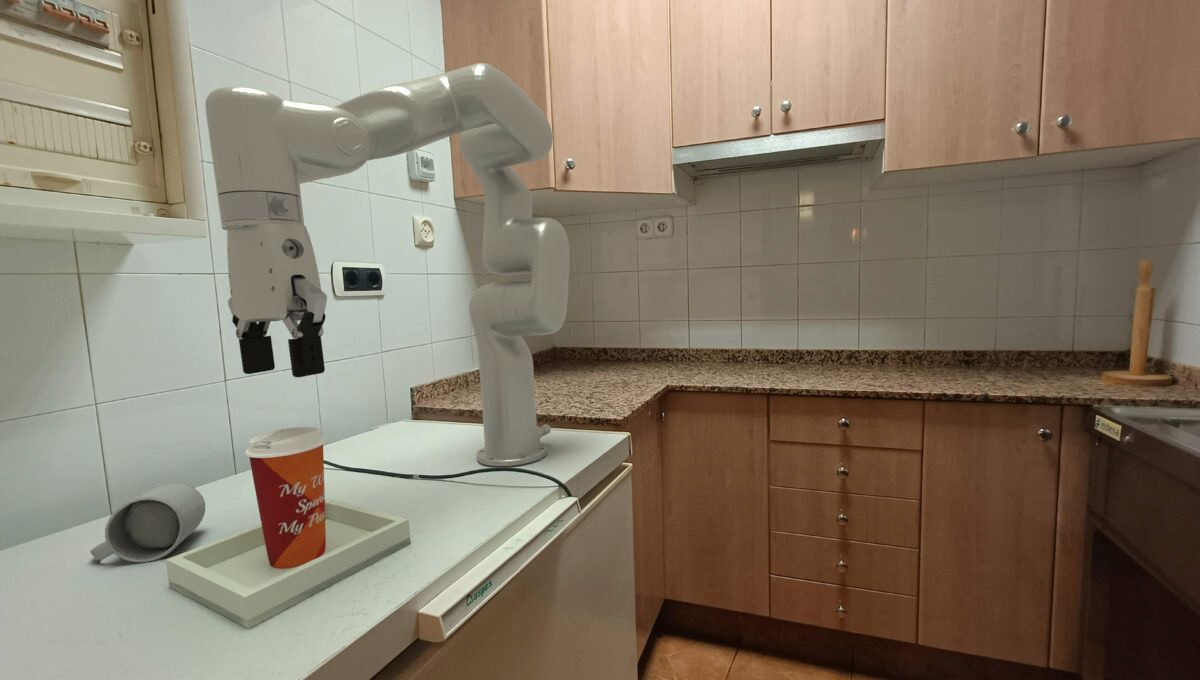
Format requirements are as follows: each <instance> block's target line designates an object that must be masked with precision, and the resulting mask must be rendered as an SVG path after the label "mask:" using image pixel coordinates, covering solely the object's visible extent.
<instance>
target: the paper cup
mask: <svg viewBox="0 0 1200 680" xmlns="http://www.w3.org/2000/svg"><path fill="white" fill-rule="evenodd" d="M326 442H327V439H326V437H325V436H323V434H322V431H321V429H319V428H317V427H315V426H314V427H313V426H298V427H297V426H296V427H288V428H282V429H281V428H280V429H277V430H271V431H267V432H263V433H260V434H258V435H255V436H254V437H252V438H250V439H249V440H248V447H247V449H246V450H245V453H244V455H245V456H246V457H248V458H249V463H250V469H251V475H252V479H253V485H254V490H255V495H256V501H257V506H258V508H257V509H258V514H259V518H260V524H262V530H263V535H264V540H265V546H266V551H267V555H268V560H269V563H270V565H271V566H272V567H274V568H279V569H286V568H293V567H298V566H301V565H303V564H306V563H308V562H310V561H312V560H314V559H316V558H318V557H320V556H321V555H323V553H324V552H325V549H326V524H325V500H326V498H325V497H326V496H325V495H326V493H325V491H326V490H325V462H324V457H325V456H324V444H325V443H326Z"/></svg>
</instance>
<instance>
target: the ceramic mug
mask: <svg viewBox="0 0 1200 680" xmlns="http://www.w3.org/2000/svg"><path fill="white" fill-rule="evenodd" d="M205 513H206V501H205V499H204V497H203V495H202V494H201V492H199V490H198V489H196V488H195V487H193V486H190V485H189V484H185V483H170V484H169V483H168V484H165V485H160V486H157V487H155V488H153V489H150V490H149V491H146V492H145V493H143V494H141V495H138V496H137V497H133V498H132V499H130V500H128V501H126V502H124V503H123V504H122V505H120V506H119V507H118V508H117V509H116V510H115V511H114V512H113V513H112V514H111V515H110V516H109V519H108V521H107V523H106V525H105V528H104V538H105V540H104V541H103V542H101V543H99V544H97V546H95V547H94V548H92V549H91V550H89V551H90V554H91V555H92V557H94V559H95V561H97V562H98V561H101V560H104V559H106V558H108V557H110V556H112V555H115V556H117V557H118V558H119V559H121V560H124V561H127V562H131V563H147V562H148V563H149V562H150V563H151V562H153V561H156V560H160V559H162V558H164V557H166V556H167V555H169V554H170V553H171V552H174V550H175V549H176V548H177V547H178V546H179V545H180V544H181V543H182V542H184V540H186V539H187V538H188V537H189V536H190V535H191V534H192V533H193V532H194V531H195V530H197V528H198V527H199V526H200V524H201V522H202V521H203V519H204V516H205V515H206V514H205Z"/></svg>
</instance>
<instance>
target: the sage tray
mask: <svg viewBox="0 0 1200 680" xmlns="http://www.w3.org/2000/svg"><path fill="white" fill-rule="evenodd" d="M325 524H326V549H325V552H324V553H323V555H321V556H320V557H318V558H316V559H314V560H312V561H310V562H308V563H306V564H303V565H301V566H298V567H293V568H286V569H279V568H274V567H272V566H271V565H270V563H269V560H268V555H267V551H266V546H265V540H264V535H263V530H262V524H261V523H259V524H257V525H254V526H251V527H249V528H246V529H244V530H241V531H239V532H235V533H232V534H231V535H226V536H225V537H222V538H220V539H217V540H214V541H212V542H209V543H205V544H204V545H203V544H202V545H201V546H198V547H195V548H193V549H191V550H188V551H185V552H183V553H180V554H177V555H174V556H171V557H169V558H167V559H165V561H166V569H167V576H168V577H167V578H168V586H169V588H171V589H173V590H174V591H177V592H178V593H180V594H182V595H184V596H186V597H188V598H190V599H191V600H194V601H195V602H197V603H199V604H200V605H203V606H205V607H207V608H208V609H210V610H212V611H214V612H216V613H217V614H219V615H222V616H224V617H225V618H227V619H229V620H231V621H233V622H235V623H236V624H239V625H241V626H242V627H244V628H245V629H247V630H249V629H251V628H254V627H255V626H257V625H259V624H261V623H263V622H265V621H267V620H268V619H270V618H272V617H274V616H275V615H278V614H280V613H282V612H283V611H285V610H287V609H289V608H291V607H293V606H294V605H297V604H298V603H301V602H302V601H304V600H306V599H309V598H310V597H312V596H314V595H315V594H317V593H319V592H321V591H324V590H326V589H328V588H329V587H331V586H333V585H334V584H335V585H336V583H338V582H340V581H342V580H344V579H346V578H348V577H350V576H352V575H353V574H356V573H357V572H359V571H361V570H363V569H366V568H367V567H369V566H370V565H372V564H374V563H376V562H379V561H380V560H382V559H384V558H386V557H388V556H389V555H391V554H394V553H395V552H397V551H399V550H401V549H403V548H406V547H407V546H408V545H410V544H411V543H412V541H411V532H410V520H409V519H408V518H405V517H401V516H398V515H394V514H389V513H386V512H382V511H378V510H375V509H370V508H367V507H362V506H359V505H354V504H351V503H347V502H343V501H338V500H335V499H331V498H325ZM393 552H394V553H393Z"/></svg>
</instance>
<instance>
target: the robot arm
mask: <svg viewBox="0 0 1200 680" xmlns="http://www.w3.org/2000/svg"><path fill="white" fill-rule="evenodd" d="M204 105H205V115H206V123H207V129H208V136H209V138H208V139H209V144H210V153H211V159H212V165H213V166H212V167H213V172H214V173H213V175H214V179H215V188H216V194H217V196H216V197H217V203H218V209H219V217H220V223H221V224H220V225H221V230H223V231H226V232H227V233H226V242H227V243H226V247H227V249H226V252H227V253H226V256H227V269H228V282H229V292H230V298H229V299H228V301H227V305H228V307H229V311H230V313H231V317H232V318H231V319H232V320H231V322H232V324H234V327H235V328H236V329H235V335H236V337H237V339H238V344H239V351H240V359H241V365H242V371H243V374H245V375H252V374H253V375H254V374H257V373H264V372H270V371H273V370H275V368H276V366H275V358H274V357H275V356H274V349H273V343H272V342H273V341H272V335H267V333H268V330H269V327H270V324H271V322H279V321H280V322H281V321H282V323H284V325H285V327H286V328H287V330H288V333H289V334H290V335H291V338H289V339H287V342H288V350H289V358H290V366H291V373H292V374H291V375H292V377H294V378H303V377H308V376H313V375H320V374H323V373H324V372H325V371H326V369H325V367H326V366H325V361H324V360H325V359H324V358H325V357H324V352H323V350H324V349H323V344H322V343H323V342H322V336H323V334H324V327H323V325H324V323H325V321H326V314H325V311H326V308H327V307H326V306H327V303H328V302H327V301H328V296H327V294H326V292H324V291H323V290H322V286H321V282H320V281H321V280H320V275H319V270H318V264H317V261H316V254H315V252H314V247H313V244H312V241H311V236H310V233H309V232H308V229H307V226H306V225H305V219H304V213H303V212H304V210H303V203H302V195H301V186H300V185H301V184H306V183H311V182H314V181H320V180H323V179H330V178H335V177H339V176H343V175H348V174H351V173H353V172H355V171H357V170H359V169H360V168H362V167H363V166H364V165H365V164H366V163H367V161H372V160H378V159H385V158H390V157H391V158H392V157H395V156H398V155H402V154H405V153H410V152H412V151H416V150H418V149H421V148H422V147H426V146H429V145H431V144H433V143H435V142H438V141H440V140H444V139H446V138H449V137H452V136H454V135H457V134H459V138H458V141H459V142H458V143H459V147H460V148H459V149H460V152H461V154H462V157H463V159H464V160H465V162H466V163H467V165H468V166H469V168H470V169H471V171H472V172H473V174H474V175H475V177H476V178H477V181H478V182H479V184H480V186H481V189H482V191H483V196H484V197H483V198H484V215H483V217H484V218H483V232H482V233H483V234H482V253H481V254H482V256H481V257H482V261H483V265H484V267H485V268H486V269H487V272H488V271H489V272H490V273H492V275H493V274H494V275H498V276H521V275H531V280H530V279H527V280H510V281H508V280H506V281H496V282H490V283H487V284H486V283H485V284H484V285H482V286H479V287H478V288H477V289H476V290H475V291H474V293H473V294H472V296H471V298H470V300H469V306H468V307H469V316H470V321H471V324H472V329H473V332H474V336H475V341H476V346H477V353H478V364H479V367H478V368H479V376H480V377H479V380H480V394H481V396H480V397H481V408H482V409H481V410H482V423H483V424H482V425H483V439H484V447H482V448H481V449H479V450H478V451H477V452H476V461H477V462H478V463H480V464H482V465H485V466H491V467H513V466H520V465H521V466H522V465H527V464H529V463H533V462H537V461H539V460H541V459H543V458H544V457H545V456H546V455H547V454H548V450H547V445H545V444H544V443H542V442H541V439H542V437H543V436H544V437H545V436H546V435H549V434H550V433H551V429H552V428H551V426H550V425H549V424H546V423H545V424H542V425H541V426H540V425H537V424H538V423H537V410H536V409H537V408H536V407H537V406H536V395H535V394H536V393H535V391H536V390H535V373H534V360H533V356H532V353H531V351H530V348H529V346H528V344H527V342H526V341H525V340H524V338H523V336H546V335H547V336H548V335H552V334H555V333H557V332H558V331H559V330H561V328H562V327H563V326H564V323H565V321H566V318H567V317H566V316H567V311H568V300H569V299H568V298H569V280H570V277H569V276H570V258H571V257H570V255H571V253H570V243H569V238H568V235H567V233H566V230H565V228H564V227H563V225H562V224H561V223H560V222H559V221H557V220H556V219H554V218H552V217H534V218H533V197H532V193H531V191H530V188H529V187H528V186H527V184H526V183H525V181H524V180H523V179H522V177H520V176H519V174H518V173H517V172H516V171H515V170H514V168H513V167H512V166H516V165H522V164H528V163H532V162H537V161H540V160H542V159H544V158H545V157H547V155H548V154H549V153H550V151H551V149H552V147H553V139H554V138H553V131H552V128H551V125H550V123H549V120H548V119H547V117H546V115H545V113H544V112H543V111H542V110H541V108H539V106H538V105H537V104H535V102H534V101H533V100H532V99H531V98H530V97H529V96H528V95H527V94H526V92H524V90H522V89H521V87H519V85H517V84H516V83H515V82H514V81H513V80H512V79H511V78H510V77H509V76H508V75H506V74H505V73H504V72H502V71H501V70H500V69H498V68H496V67H495V66H493V65H491V64H489V63H486V62H485V63H484V62H477V63H473V64H470V65H467V66H464V67H461V68H460V67H459V68H458V69H457V68H456V69H454V70H450V71H447V72H443V73H440V74H436V75H432V76H427V77H424V78H419V79H415V80H410V81H407V82H401V83H398V84H397V83H396V84H391V85H387V86H383V87H380V88H378V89H374V90H371V91H369V92H366V93H363V94H361V95H358V96H355V97H353V98H352V99H349V100H347V101H343V102H340V103H337V104H334V105H329V104H328V105H327V104H320V103H310V102H304V101H297V100H296V101H295V100H289V99H284V98H281V97H279V96H277V95H275V94H273V93H271V92H269V91H268V92H267V91H264V90H261V89H257V88H251V87H243V86H227V87H226V86H225V87H221V88H217V89H213V90H212V91H211V92H210V93H209V94H207V97H206V99H205V104H204ZM298 322H299V323H298Z"/></svg>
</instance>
